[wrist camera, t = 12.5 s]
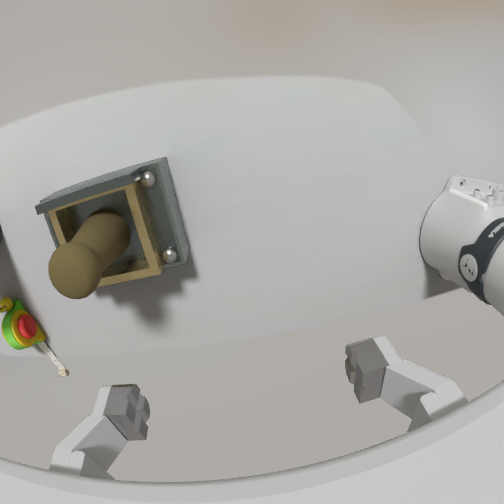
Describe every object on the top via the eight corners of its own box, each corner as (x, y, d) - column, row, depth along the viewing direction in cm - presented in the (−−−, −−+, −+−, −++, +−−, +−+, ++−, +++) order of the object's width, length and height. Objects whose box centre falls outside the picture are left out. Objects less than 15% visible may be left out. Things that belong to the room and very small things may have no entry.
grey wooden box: (166, 156, 34) (149, 168, 26) (189, 246, 39) (182, 280, 31) (57, 190, 34) (22, 211, 26) (86, 269, 39) (61, 303, 31)
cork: (109, 267, 34) (76, 320, 24) (74, 233, 32) (29, 276, 22) (140, 234, 33) (111, 282, 23) (103, 197, 31) (58, 232, 21)
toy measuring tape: (19, 286, 39) (0, 307, 33) (77, 370, 47) (67, 395, 41) (0, 294, 39) (-18, 315, 33) (56, 374, 48) (45, 397, 42)
